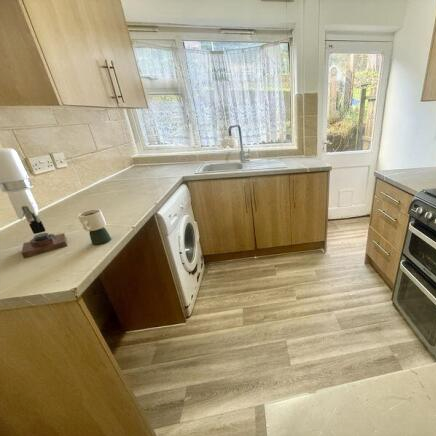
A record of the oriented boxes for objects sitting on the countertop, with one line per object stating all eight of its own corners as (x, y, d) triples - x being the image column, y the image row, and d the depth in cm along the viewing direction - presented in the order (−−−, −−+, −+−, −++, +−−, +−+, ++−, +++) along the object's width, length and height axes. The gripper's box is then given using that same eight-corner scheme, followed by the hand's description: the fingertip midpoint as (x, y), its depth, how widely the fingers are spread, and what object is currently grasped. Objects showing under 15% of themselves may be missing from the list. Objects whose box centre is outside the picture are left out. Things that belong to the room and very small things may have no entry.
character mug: (99, 237, 102) (86, 208, 96) (118, 234, 103) (106, 206, 97) (84, 250, 92) (69, 219, 86) (105, 248, 93) (92, 217, 87)
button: (35, 242, 91) (33, 238, 90) (35, 239, 93) (33, 235, 93) (49, 239, 93) (47, 235, 92) (49, 235, 96) (48, 231, 95)
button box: (24, 258, 88) (18, 248, 86) (26, 248, 94) (21, 239, 93) (67, 246, 95) (63, 237, 93) (66, 237, 102) (62, 229, 100)
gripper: (3, 183, 87) (27, 229, 95) (-3, 192, 77) (24, 242, 85) (32, 179, 92) (53, 223, 99) (30, 187, 82) (53, 235, 89)
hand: (39, 232), depth 92 cm, fingers closed
